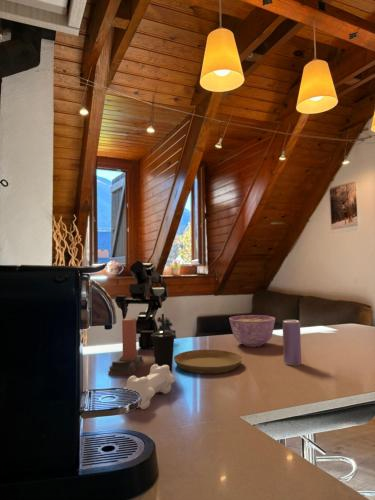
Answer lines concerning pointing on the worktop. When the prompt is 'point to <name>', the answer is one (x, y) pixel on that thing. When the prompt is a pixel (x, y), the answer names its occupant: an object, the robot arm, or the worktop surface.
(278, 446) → the worktop surface
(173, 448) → the worktop surface
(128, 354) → the post
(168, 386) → the bone shaped toy
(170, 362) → the drinking cup
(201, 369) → the plant saucer
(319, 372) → the worktop surface
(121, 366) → the press track
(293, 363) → the beverage can
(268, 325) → the bowl of food
